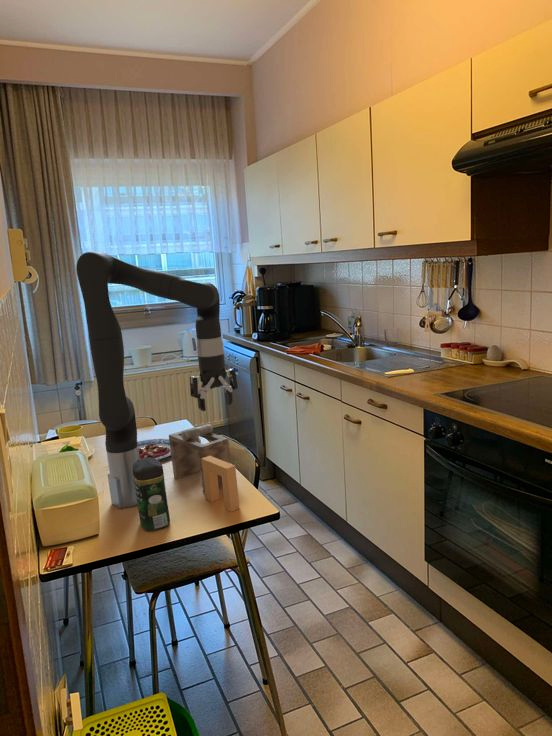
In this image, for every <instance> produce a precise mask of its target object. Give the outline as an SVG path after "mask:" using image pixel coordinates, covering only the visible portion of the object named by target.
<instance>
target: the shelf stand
mask: <svg viewBox="0 0 552 736" xmlns="http://www.w3.org/2000/svg"><path fill="white" fill-rule="evenodd" d="M213 428H214V427H213V426H212V424H210V423H207V424H204V425H201V426H198V427H191V428H187V429H184V430H180V431H178V432H174V433H171V434H168V439H169V441H170V449H171V455H170V456H171V463H172V465H171V466H172V472H173V478H174V479H175V480H176V479H177V480H178V479H181V478H183V477H187V476H189V475H192V474H194V473H198V472H200V475H201V485H202V492H203V493H205V486H204V477H203V468H202V459H201V458H204V457H207V456H212V457H215V458H217V459H220V460H222V461H225V462H227V463H230V464H232V463H231V454H230V453H231V451H230V442H229V438H227V437H224V436H221V435H218V434H215V433H213V432H214V429H213ZM199 437H200V438H203V439H206V440H209V442H206V443H202V442H201V443H199ZM217 477H218V486H219V489H223V485H222V476H220V475H218V474H217Z"/></svg>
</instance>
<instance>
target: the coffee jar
mask: <svg viewBox="0 0 552 736" xmlns="http://www.w3.org/2000/svg"><path fill="white" fill-rule="evenodd" d="M163 467H164V465H162V463H161V462H160V460H157V459H154V458H152V457H147V458H143V459H138V460H137V461H136V462H135V463H134V464H133V477H134V484H135V492H136V498H137V504H138V505H137V510H138V516H139V517H138V518H139V521H140V522H139V524H140V525H141V527H142V528H143V530H144V531H159V530H162V529H164V528H165V527H168V526H169V525H170V523H171V519H170V518H171V517H170V513H169V505H168V497H167V490H166V483H165V474H164V468H163Z"/></svg>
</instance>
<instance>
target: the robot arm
mask: <svg viewBox="0 0 552 736" xmlns="http://www.w3.org/2000/svg"><path fill="white" fill-rule="evenodd" d="M75 266H76V268H75V269H76V270H75V271H76V276H77V281H78V284H79V288H80V291H81V296H82V299H83V304H84V313H85V318H86V324H87V331H88V332H87V333H88V342H89V348H90V349H89V350H90V354H91V359H92V365H93V370H94V374H95V378H96V379H95V380H96V385H97V393H98V394H97V395H98V397H97V398H98V417H99V420H100V423H101V424H102V425H103V426H104V427H105V443H104V444H105V451H106V457H107V464H108V470H109V473H108V474H107V481H108V487H109V495H110V502H111V504H113V506H115V507H116V508H118V509H124V508H130V507H134V506H135V507H136V506H138V504H137V498H136V492H135V484H134V477H133V464H134V463H135V462H136V461H137V460H138V459H139V451H138V444H137V442H138V430H137V428H138V427H137V421H136V412H135V411H136V410H135V408H134V406H135V405H134V403H133V402H132V399H130V398H129V397H128V396H127V395H126V390H125V385H124V384H125V383H124V373H125V372H124V368H125V347H124V340H123V332H122V328H121V326H120V323H119V321H118V318H117V316H116V314H115V311H114V309H113V307H112V304H111V300H110V295H109V284H114V285H121V286H122V285H124V286H128V287H131V288H133V289H137V290H140V291H142V292H144V293H146V294H149V295H152V296H156V297H157V298H158V297H159V298H162V299H165V300H166V299H167V300H170V301H176V302H179V303H181V304H184V305H187V306H189V307H192V308H196V315H197V316H196V320H195V333H196V334H195V335H196V350H197V351H196V354H197V360H198V361H197V362H198V363H197V364H198V369H199V375H196V376H193V375H192V376H190V377H189V388H190V389H189V391H190V393H189V394H190V397H193V398H195V399H197V407H198V409H199V410H200V411H202V412H206V411H207V409H206V408H207V407H206V400H205V399H206V398H205V397H206V394H208V392H209V390H210V389H211V390H212V389H215V388H220V387H221V388H222V389H223V390H224V391H225V392H224V397H225V404H226V405H227V406H232V405H233V404H232V403H233V391H235V390H238V387H239V386H238V380H237V374H236V370H235V369H233V368H228V369H227V370H226V363H225V362H226V361H225V352H224V351H225V350H224V341H223V339H222V338H223V337H222V328H221V323H220V312H221V311H220V308H221V307H220V304H221V303H220V302H221V300H220V293H219V290H218V288H217V286H215V284H213V283H211V282H202V283H201V282H197V281H193V280H188V279H185V278H184V277H182V276H179V275H175V274H171V273H169V272H163V271H160V270H155V269H151V268H146V267H142V266H138V265H135V264H132V263H130V262H126V261H124V260H121V259H119V258H117V257H114V256H113V255H110V254H108V253H106V252H104V251H86V252H84V253H82V254H81V255H80V256H79V258H78V260H77V262H76V265H75ZM226 377H228V382H229V383H228V382H227V380H225V379H226ZM200 382H201V384H200V386H199V383H200Z"/></svg>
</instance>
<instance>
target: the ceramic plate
mask: <svg viewBox="0 0 552 736" xmlns="http://www.w3.org/2000/svg"><path fill="white" fill-rule="evenodd" d="M137 444H138V451H139V459H143V458H147V457H152V458H154V459H157V460H158V461H160V460H161V459H164V458H168V457H170V456H171V449H170V441H169V438H152V439H144V440H143V439H142V440H137ZM159 446H162V447H159ZM144 447H145V448H144ZM141 448H144V449H141Z"/></svg>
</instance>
